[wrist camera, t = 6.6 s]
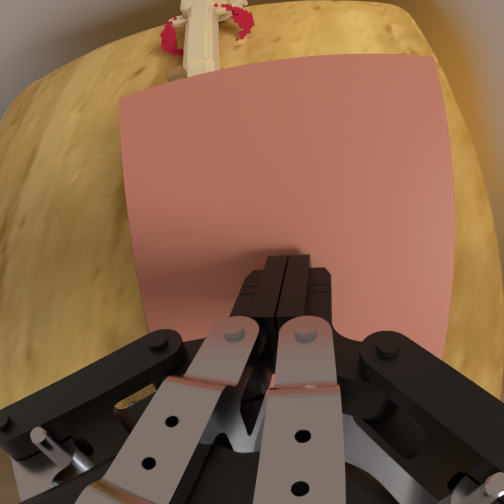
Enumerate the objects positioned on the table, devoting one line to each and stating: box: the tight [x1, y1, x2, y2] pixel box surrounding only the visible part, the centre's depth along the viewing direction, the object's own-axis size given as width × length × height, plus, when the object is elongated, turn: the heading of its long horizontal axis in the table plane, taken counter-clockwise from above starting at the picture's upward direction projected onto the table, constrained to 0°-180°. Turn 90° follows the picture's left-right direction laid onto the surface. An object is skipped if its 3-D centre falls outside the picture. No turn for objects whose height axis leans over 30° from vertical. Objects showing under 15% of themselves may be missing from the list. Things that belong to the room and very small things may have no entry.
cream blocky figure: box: [160, 0, 254, 82], centre depth 23 cm, size 10×9×25 cm
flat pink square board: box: [119, 54, 455, 412], centre depth 12 cm, size 2×14×15 cm
